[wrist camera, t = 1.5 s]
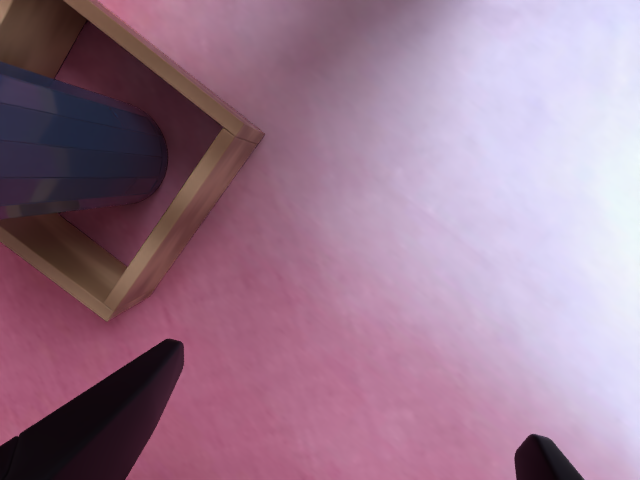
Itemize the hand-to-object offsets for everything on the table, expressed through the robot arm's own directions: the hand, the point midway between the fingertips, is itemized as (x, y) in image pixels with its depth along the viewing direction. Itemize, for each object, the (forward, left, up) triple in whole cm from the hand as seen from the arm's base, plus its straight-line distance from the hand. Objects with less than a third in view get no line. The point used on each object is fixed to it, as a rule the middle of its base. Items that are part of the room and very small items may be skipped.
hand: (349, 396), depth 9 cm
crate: (-4, +16, -15) cm, 22 cm away
